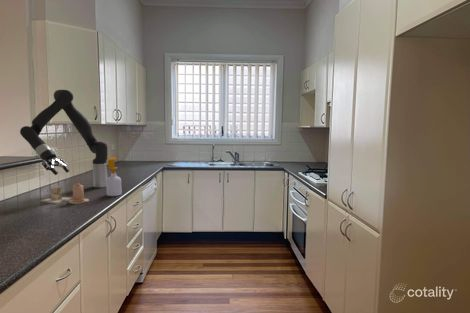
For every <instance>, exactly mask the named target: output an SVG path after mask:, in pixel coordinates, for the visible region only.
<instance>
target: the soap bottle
mask: <svg viewBox="0 0 470 313" xmlns="http://www.w3.org/2000/svg"><path fill="white" fill-rule="evenodd" d="M117 158H118V157H116V156H111V157H109V158H108V159H107V169H110V170H111V172H110V176H108V178H107V180H106V187H105V188H106V196H108V197H117V196H120V195H121V196H122V194H123V193H122V192H123V191H122V178H121V177H120V176H118V175H117V172H116V169H118V167H117V166H116V167H115V161H116V160H117Z"/></svg>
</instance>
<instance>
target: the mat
mask: <svg viewBox="0 0 470 313" xmlns="http://www.w3.org/2000/svg"><path fill="white" fill-rule="evenodd" d="M84 198H85V197H84ZM88 202H90V198H85V200H84V201H81V202H73V199H71V200H68V204H72V205H80V204H85V203H88Z"/></svg>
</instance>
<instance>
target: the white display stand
mask: <svg viewBox="0 0 470 313" xmlns="http://www.w3.org/2000/svg"><path fill="white" fill-rule="evenodd" d="M62 192H63V189H62V186H54V187H53V186H52V187H50V197H48V198H45V199H42V200H39V203H43V204H55V205H58V204H62V203H65V202H67V201H70V200H73V196H72V197H71V196H70V197H69V196H63V193H62Z"/></svg>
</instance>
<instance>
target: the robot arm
mask: <svg viewBox="0 0 470 313" xmlns="http://www.w3.org/2000/svg"><path fill="white" fill-rule="evenodd" d="M53 99H54V101H53V102H52V103H51V104H50V105H49V106H47V107H45V108H44V109H43V110H42V111H40V112H39V113H38V114H37V115H36V116H35V117H34V118H33V119H32V121H31V126H29V125H26V126H22V127H21V128H20V130H19V133H20V135H21V137H22V138H23V139H24V140H25V141H26V142H27V143H28V144H29V145H30V146H31V148H32V149H33V150H34V152H35V153H36V155H37V156H39V158H40V159H41V160H42V162H41V163H40V164H41V165H42V166H43V167H44V170H46V171H50V172H52V174H53V175H54V176H56V175H58V174H59V172H58V170H57V169H56V168H55V167H58V168H61V169H62V170H64V172H65V173H69V172H70V169H69V167H68V165H69V163H68V162H67V161H66V160H65V159H64V158H63V157H60V158H57V154H56V153H55V152H54V151H53V149H52V148H51V147H50V146H49V145H48V144H47V143H46V142H45V141H44V140H43V139H42V138H41V137H40V134H41V133H42V130H43V129H44V127H45V126H47V125H48V123H49V122H50V121H51V120H52V119H53V118H54V117H55V116H56V115H58V114H59V112H61V111H62V110H63V111H64V113H65V114H66V116H67V117H68V119H69V120H70V122H71V123H72V124H73V126H74V127H75V129H76V130H77V132H78V133H79V134H80V136H81V137H82V139H83V140H84V141H85V143H86V145H87V148H88V149H89V151H90V152H91V153H93V154H95V157H94V158H93V159H92V175H93V176H92V177H93V178H92V180H93V182H92V183H93V188H106V180H107V178H108V177H109V175H108V170H107V169H108V164H107V162H108V156H109V155H108V154H109V153H108V151H109V150H108V145H107V143H106V142H104V141H98V139H97V138H96V137H95V135H94V134H93V129H92V125H91V124H90V121H89V120H88V119H87V117H86V115H84V114H83V112H81V111H80V110H79V109H77V108H76V106H75V105H74V104H73V101H74V94H73V93H72V92H71V91H70V90H68V89H57V90H55V91H54V93H53Z"/></svg>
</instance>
